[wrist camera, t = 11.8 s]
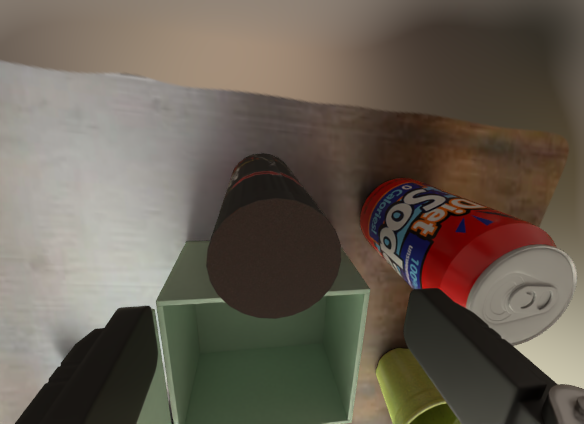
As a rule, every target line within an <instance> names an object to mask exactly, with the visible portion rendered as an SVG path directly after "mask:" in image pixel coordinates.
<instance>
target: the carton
mask: <svg viewBox="0 0 584 424" xmlns="http://www.w3.org/2000/svg"><path fill="white" fill-rule="evenodd" d="M209 243H210V241H187V242H186V243H185V245H184V247H183V249H182V251H181V253H180V255H179V257H178V259H177V261H176V263H175V265H174V267H173V269H172V271H171V273H170V275H169V277H168V279H167V280H166V282H165V284H164V286H163V288H162V290H161V292H160V294H159V296H158V298H157V300H156V306H157V313H158V320H159V327H160V333H161V340H162V347H163V354H164V361H165V368H166V375H167V382H168V389H169V396H170V403H171V409H172V416H173V423H174V424H345V423H351V422H352V415H353V408H354V401H355V394H356V387H357V379H358V372H359V365H360V358H361V351H362V344H363V337H364V330H365V322H366V315H367V308H368V301H369V293H370V288H369V287H368V285H367V284H366V282H365V281H364V279H363V278H362V277H361V275H360V274H359V272H358V271H357V269H356V268H355V267H354V265H353V264H352V262H351V261H350V259H349V258H348V257H347V255H346V254H345V252H344V251H343V249H342V248H341V264H340V268H339V272H338V276H337V277H336V279H335V281H334V283H333V285H332V287H331V289H330V290H329V291H328V292H327V293H326V294H325V295H324V296H323V298H322V299H321V300H320V301H318V302H317V303H315V304H314V305H313V306H311V307H310V308H308V309H307V310H304V311H302V312H300V313H297V314H295V315H292V316H288V317H282V318H277V319H269V318H257V317H253V316H249V315H246V314H243V313H241V312H239V311H237V310H235V309H234V308H232V307H230V306H229V305H228V304H227V303H225V302H224V301H223V300H222V299H221V298H220V297H219V296H218V295H217V293H216V291H215V289H214V288H213V286H212V284H211V283H210V280H209V276H208V271H207V267H206V262H207V249H208V246H209Z"/></svg>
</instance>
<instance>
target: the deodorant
mask: <svg viewBox="0 0 584 424" xmlns="http://www.w3.org/2000/svg"><path fill="white" fill-rule="evenodd" d="M340 264H341V245H340V242H339V239H338V236H337V233H336V231H335V229H334V228H333V226H332V225H331V224H330V222H329V221H328V220H327V218H326V217H325V216H324V214H323V213H322V212H321V210H320V209H319V208H318V206H317V205H316V204H315V202H314V201H313V200H312V198H311V197H310V196H309V194H308V193H307V192H306V190H305V189H304V188H303V186H302V185H301V184H300V182H299V181H298V180H297V179H296V177H295V176H294V175H293V173H292V172H291V171H290V169H289V168H288V167H287V165H286V164H285V163H284V162H283V161H282V160H280V159H279V158H277V157H275V156H273V155H270V154H263V153H262V154H254V155H251V156H249V157H246V158H245V159H243V160H242V161H241V162H239V163H238V165H237V166H236V167H235V169H234V171H233V173H232V176H231V179H230V182H229V185H228V188H227V191H226V194H225V197H224V200H223V203H222V206H221V209H220V213H219V216H218V219H217V222H216V225H215V228H214V231H213V234H212V237H211V240H210V243H209V246H208V249H207V262H206V267H207V271H208V276H209V280H210V283H211V284H212V286H213V288H214V289H215V291H216V293H217V295H218V296H219V297H220V298H221V299H222V300H223V301H224V302H225V303H227V304H228V305H229V306H230V307H232V308H234V309H235V310H237V311H239V312H241V313H243V314H246V315H249V316H253V317H257V318H269V319H277V318H282V317H288V316H292V315H295V314H297V313H300V312H302V311H304V310H307V309H308V308H310V307H311V306H313V305H314V304H315V303H317V302H318V301H320V300H321V299H322V298H323V296H324V295H325V294H326V293H327V292H328V291H329V290H330V289H331V287H332V285H333V283H334V281H335V279H336V277H337V276H338V272H339V268H340Z"/></svg>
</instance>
